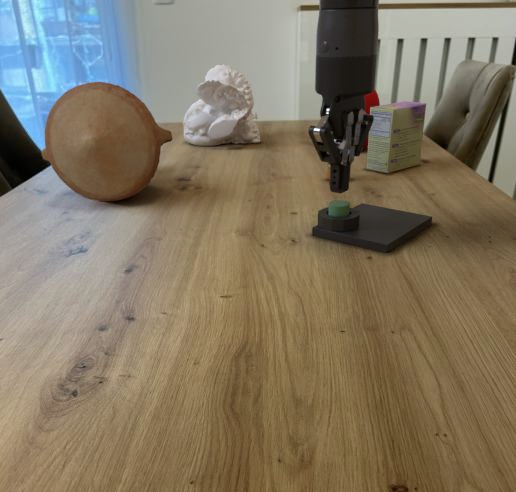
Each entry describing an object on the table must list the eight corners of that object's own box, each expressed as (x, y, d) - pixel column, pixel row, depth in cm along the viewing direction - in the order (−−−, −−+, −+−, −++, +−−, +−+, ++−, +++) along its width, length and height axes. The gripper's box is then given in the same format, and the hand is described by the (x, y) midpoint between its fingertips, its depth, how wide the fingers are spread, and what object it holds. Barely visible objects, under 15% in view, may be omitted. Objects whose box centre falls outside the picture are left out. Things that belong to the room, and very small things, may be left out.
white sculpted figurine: (171, 98, 143) (233, 51, 135) (217, 164, 152) (277, 123, 144) (151, 114, 128) (219, 62, 120) (203, 186, 136) (269, 142, 128)
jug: (4, 141, 85) (53, 130, 112) (94, 234, 92) (120, 203, 119) (95, 50, 81) (123, 62, 108) (183, 154, 88) (189, 140, 115)
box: (397, 160, 117) (403, 100, 111) (420, 165, 113) (427, 102, 107) (365, 169, 111) (369, 106, 105) (387, 174, 107) (393, 109, 101)
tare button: (335, 210, 81) (336, 198, 80) (353, 214, 79) (353, 202, 78) (324, 216, 79) (324, 204, 78) (342, 219, 77) (342, 207, 76)
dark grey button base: (358, 209, 89) (360, 191, 88) (431, 224, 82) (434, 204, 81) (309, 234, 80) (309, 214, 78) (386, 253, 73) (388, 231, 72)
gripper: (344, 56, 62) (336, 207, 71) (398, 48, 70) (385, 184, 79) (290, 54, 66) (289, 198, 75) (348, 48, 75) (341, 177, 84)
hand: (339, 191), depth 77 cm, fingers closed
